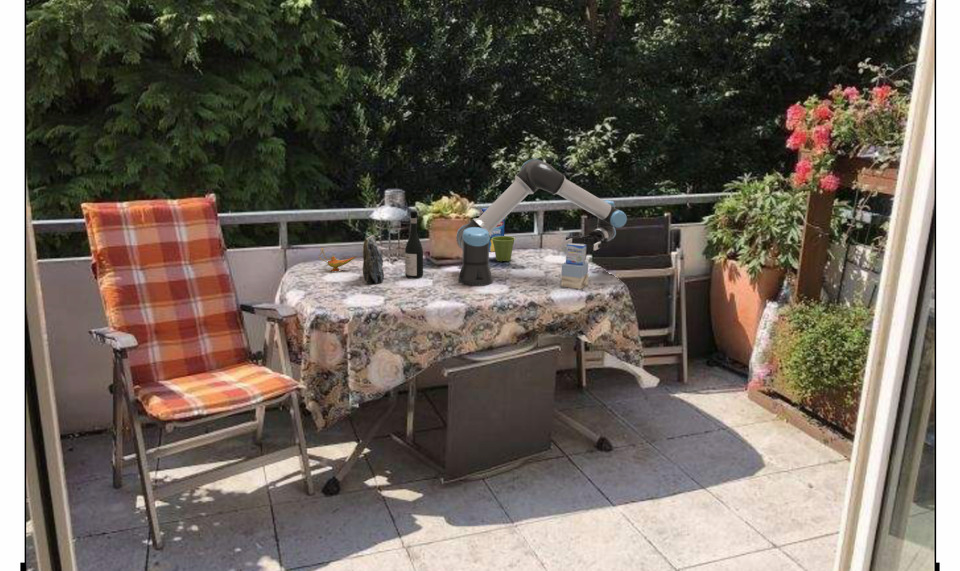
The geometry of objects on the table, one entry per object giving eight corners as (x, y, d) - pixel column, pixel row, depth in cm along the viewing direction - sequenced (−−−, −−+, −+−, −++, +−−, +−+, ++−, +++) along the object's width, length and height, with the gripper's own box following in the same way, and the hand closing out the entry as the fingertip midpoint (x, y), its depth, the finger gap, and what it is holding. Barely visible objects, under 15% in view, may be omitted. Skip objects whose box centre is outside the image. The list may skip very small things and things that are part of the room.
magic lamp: (358, 272, 359) (357, 249, 357) (318, 272, 358) (317, 249, 355) (359, 268, 366) (358, 245, 363) (320, 269, 364) (319, 246, 361)
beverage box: (504, 250, 409) (504, 209, 403) (485, 252, 404) (486, 210, 399) (498, 248, 415) (498, 207, 409) (479, 249, 410) (480, 208, 405)
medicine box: (565, 263, 339) (566, 244, 337) (568, 261, 343) (569, 242, 341) (582, 265, 336) (583, 246, 334) (585, 263, 340) (586, 244, 338)
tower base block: (580, 289, 336) (580, 278, 335) (561, 286, 340) (561, 275, 339) (588, 284, 344) (588, 273, 342) (569, 282, 348) (569, 271, 347)
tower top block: (581, 278, 335) (581, 266, 334) (561, 275, 339) (561, 264, 337) (587, 273, 343) (588, 262, 341) (568, 271, 347) (568, 260, 345)
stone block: (383, 285, 338) (382, 240, 333) (362, 285, 337) (361, 240, 332) (385, 274, 355) (385, 232, 350) (366, 274, 355) (365, 231, 350)
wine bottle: (413, 279, 347) (413, 213, 339) (401, 276, 352) (400, 211, 345) (426, 276, 353) (426, 211, 345) (414, 273, 358) (414, 209, 350)
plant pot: (503, 256, 395) (503, 235, 392) (519, 260, 387) (520, 238, 384) (486, 260, 387) (486, 237, 384) (502, 264, 379) (503, 241, 376)
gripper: (622, 248, 353) (606, 257, 335) (572, 242, 364) (553, 250, 346) (623, 232, 351) (607, 240, 333) (572, 226, 362) (554, 234, 344)
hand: (579, 245), depth 340 cm, fingers open, 13 cm apart
